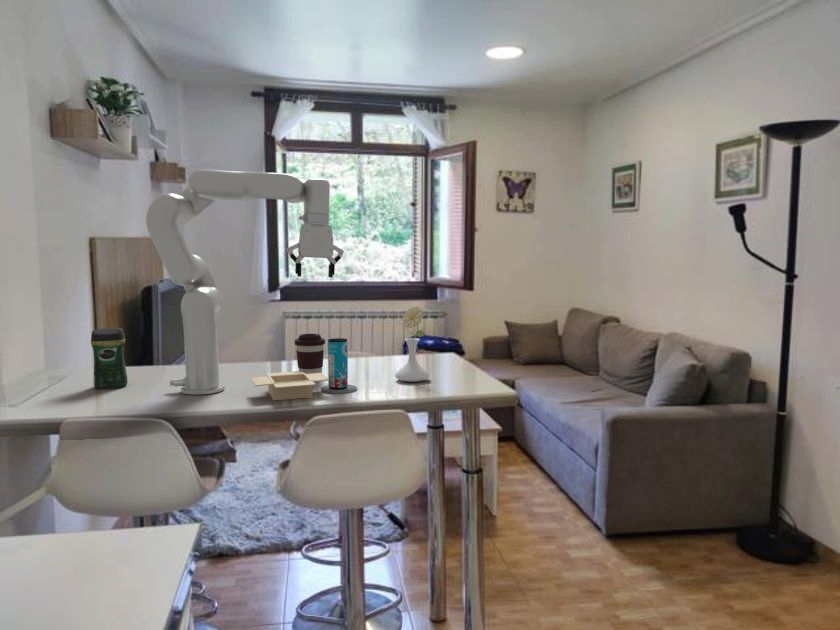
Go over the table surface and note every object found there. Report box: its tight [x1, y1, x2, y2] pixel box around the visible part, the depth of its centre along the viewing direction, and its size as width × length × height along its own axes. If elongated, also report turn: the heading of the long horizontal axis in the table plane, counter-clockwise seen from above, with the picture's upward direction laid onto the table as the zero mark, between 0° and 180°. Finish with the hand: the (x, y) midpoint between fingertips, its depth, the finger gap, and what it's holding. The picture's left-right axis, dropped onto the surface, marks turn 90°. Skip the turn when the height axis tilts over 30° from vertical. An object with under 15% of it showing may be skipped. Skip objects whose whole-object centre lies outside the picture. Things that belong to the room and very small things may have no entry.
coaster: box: [320, 384, 358, 395], centre depth 188 cm, size 11×11×1 cm
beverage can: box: [327, 337, 349, 390], centre depth 187 cm, size 6×6×15 cm
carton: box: [250, 370, 329, 401], centre depth 182 cm, size 21×21×5 cm
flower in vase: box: [394, 305, 430, 383], centre depth 200 cm, size 13×11×25 cm
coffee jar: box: [90, 327, 128, 390], centre depth 193 cm, size 10×8×19 cm
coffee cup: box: [294, 333, 326, 374], centre depth 203 cm, size 10×10×15 cm
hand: (315, 276), depth 187 cm, fingers open, 9 cm apart
